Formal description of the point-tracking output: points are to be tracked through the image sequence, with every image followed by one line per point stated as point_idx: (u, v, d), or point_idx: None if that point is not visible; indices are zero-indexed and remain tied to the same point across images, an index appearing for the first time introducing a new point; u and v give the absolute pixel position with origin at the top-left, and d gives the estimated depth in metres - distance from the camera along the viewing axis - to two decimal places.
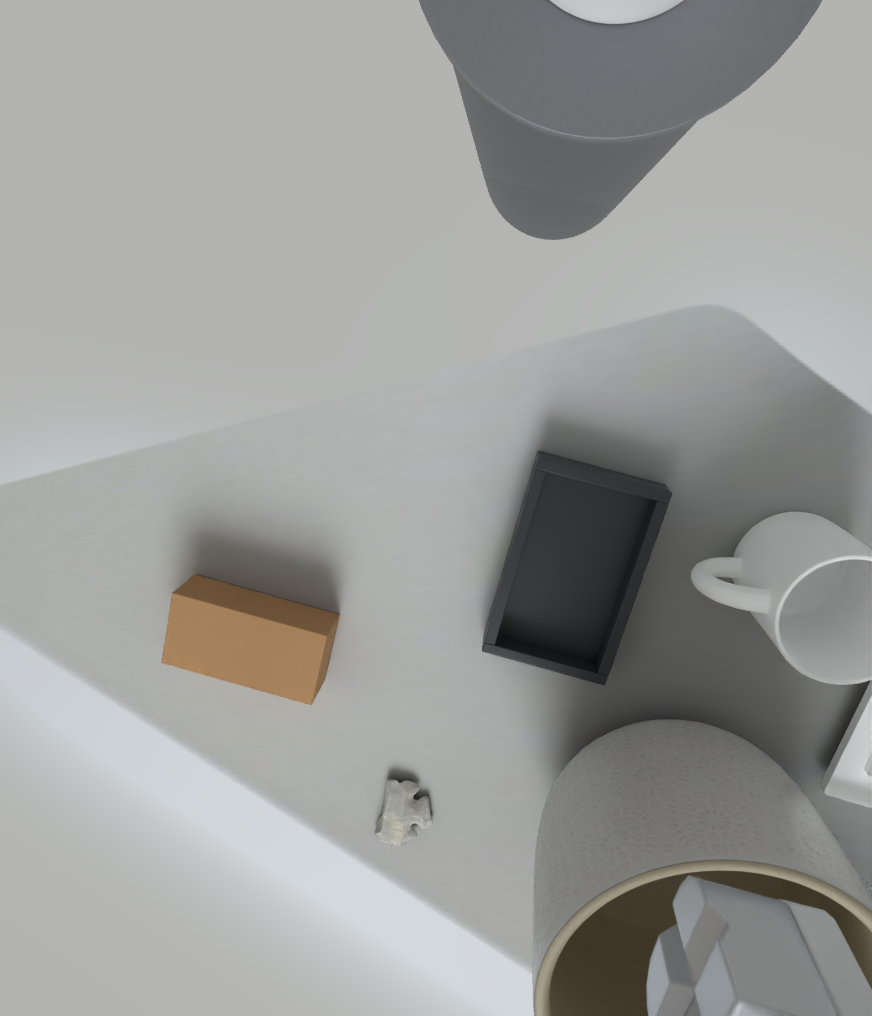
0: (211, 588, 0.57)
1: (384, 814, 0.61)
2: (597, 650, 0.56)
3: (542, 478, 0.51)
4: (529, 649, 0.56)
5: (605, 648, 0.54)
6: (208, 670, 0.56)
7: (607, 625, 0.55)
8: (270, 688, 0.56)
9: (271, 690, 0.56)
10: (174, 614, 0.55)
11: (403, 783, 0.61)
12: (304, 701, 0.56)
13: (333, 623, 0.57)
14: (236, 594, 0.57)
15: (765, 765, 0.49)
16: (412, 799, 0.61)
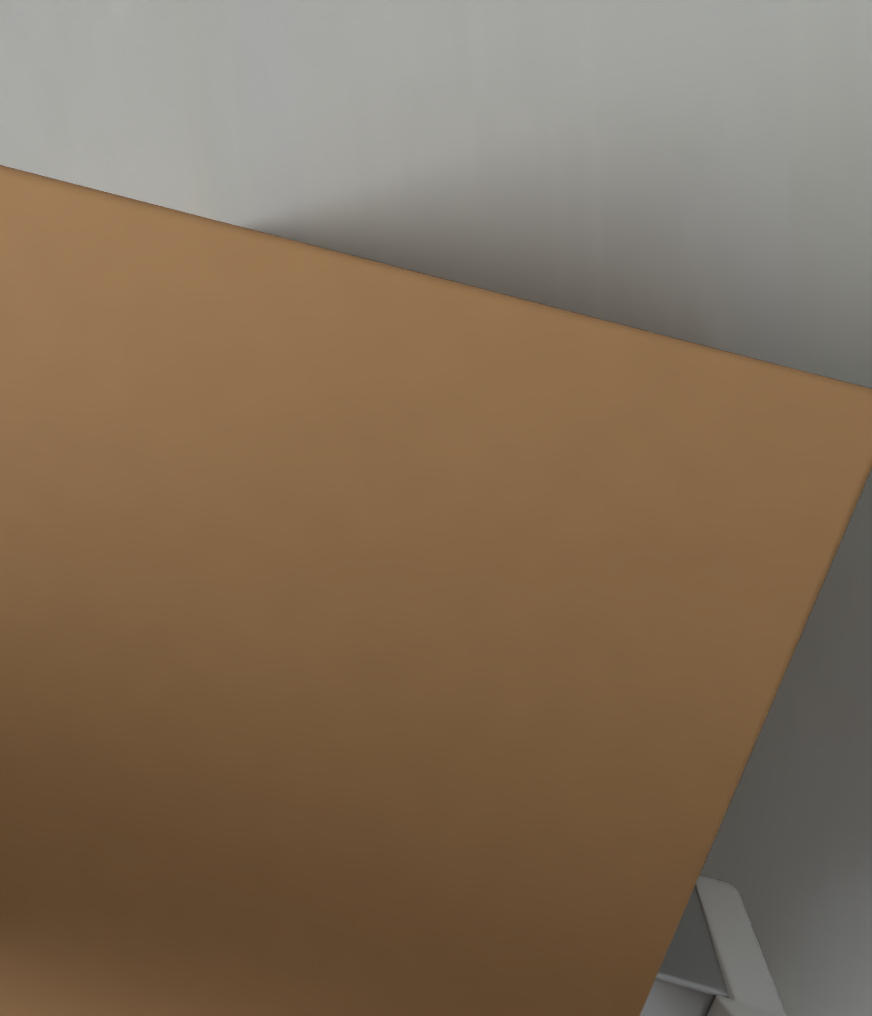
0: None
1: None
2: None
3: None
4: None
5: None
6: (7, 683, 0.06)
7: None
8: None
9: None
10: (614, 394, 0.05)
11: None
12: None
13: None
14: None
15: None
16: None
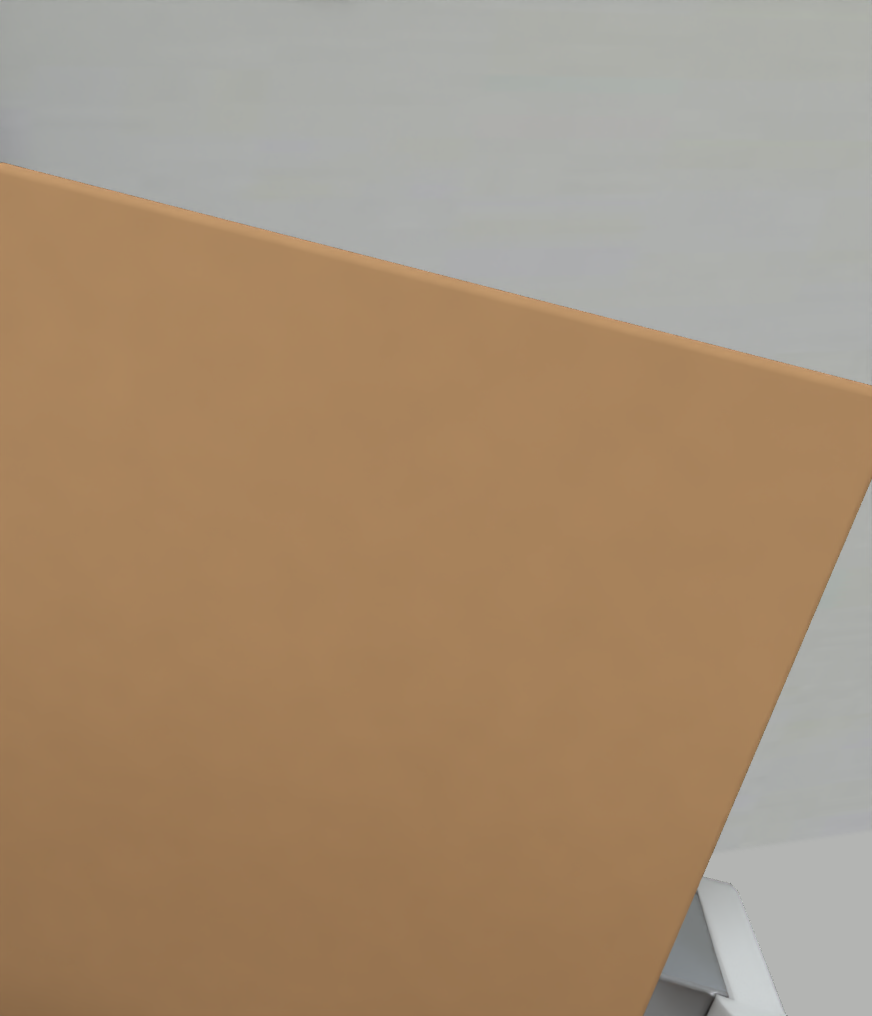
0: None
1: None
2: None
3: None
4: None
5: None
6: (9, 682, 0.06)
7: None
8: None
9: None
10: (620, 394, 0.05)
11: None
12: None
13: None
14: None
15: None
16: None
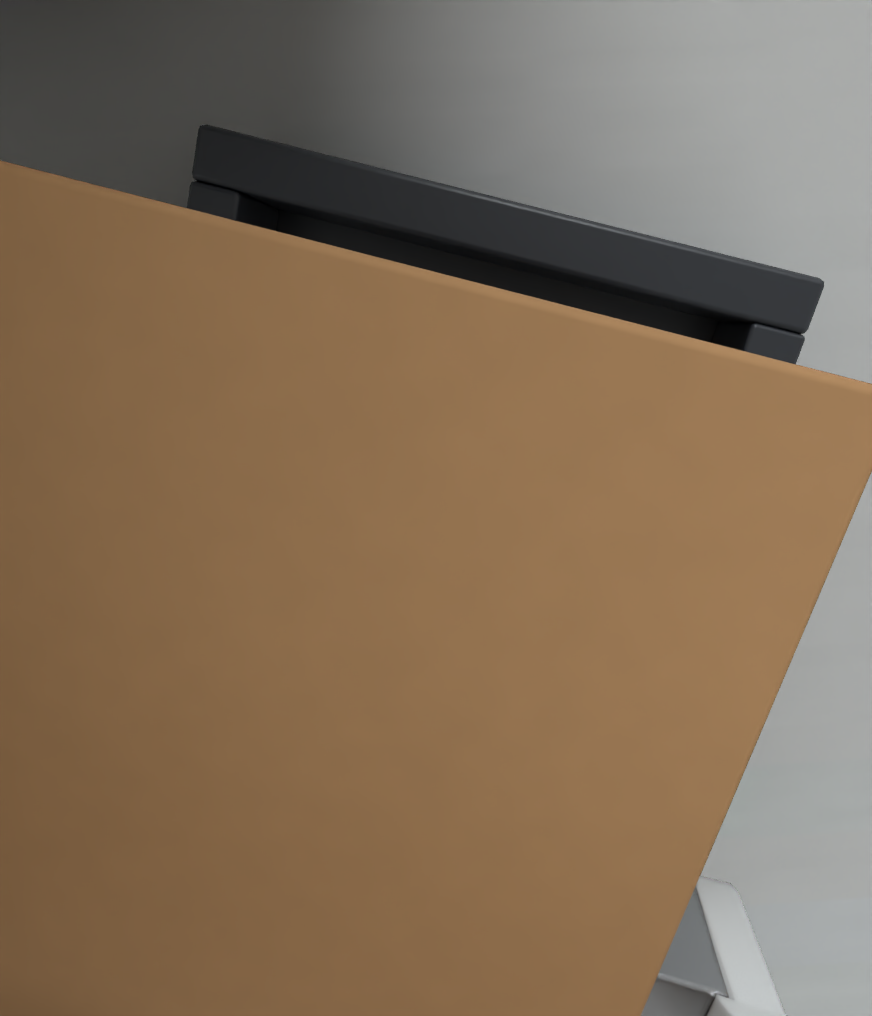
0: None
1: None
2: None
3: None
4: (571, 279, 0.12)
5: None
6: (5, 681, 0.06)
7: None
8: None
9: None
10: (616, 392, 0.05)
11: None
12: None
13: None
14: None
15: None
16: None
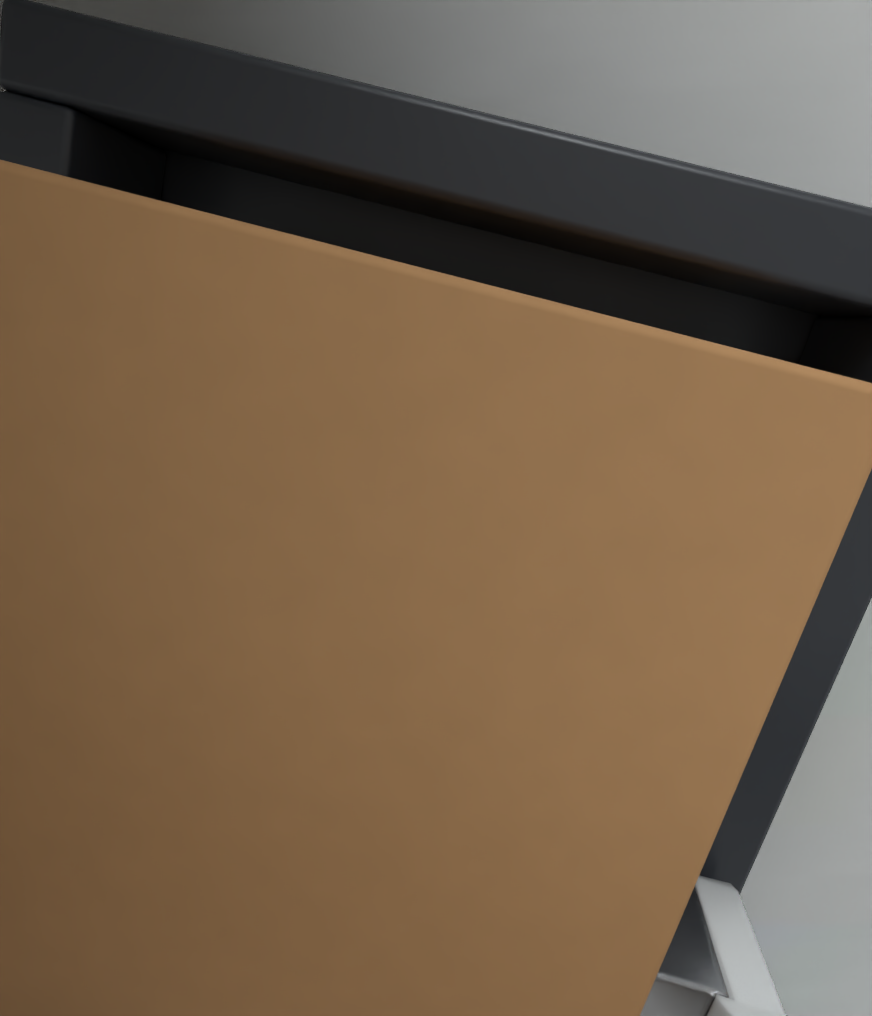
0: None
1: None
2: None
3: None
4: (600, 250, 0.08)
5: None
6: (6, 679, 0.06)
7: None
8: None
9: None
10: (618, 390, 0.05)
11: None
12: None
13: None
14: None
15: None
16: None
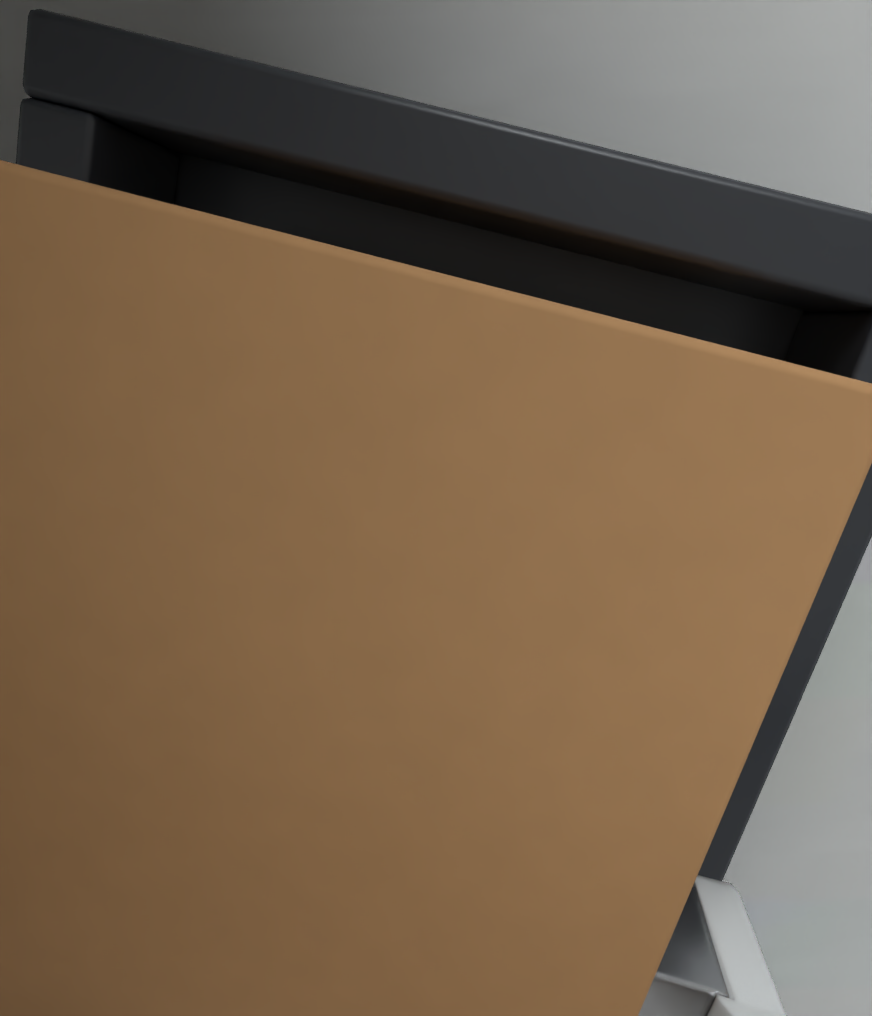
0: None
1: None
2: None
3: None
4: (595, 248, 0.08)
5: None
6: (4, 679, 0.06)
7: None
8: None
9: None
10: (614, 390, 0.05)
11: None
12: None
13: None
14: None
15: None
16: None
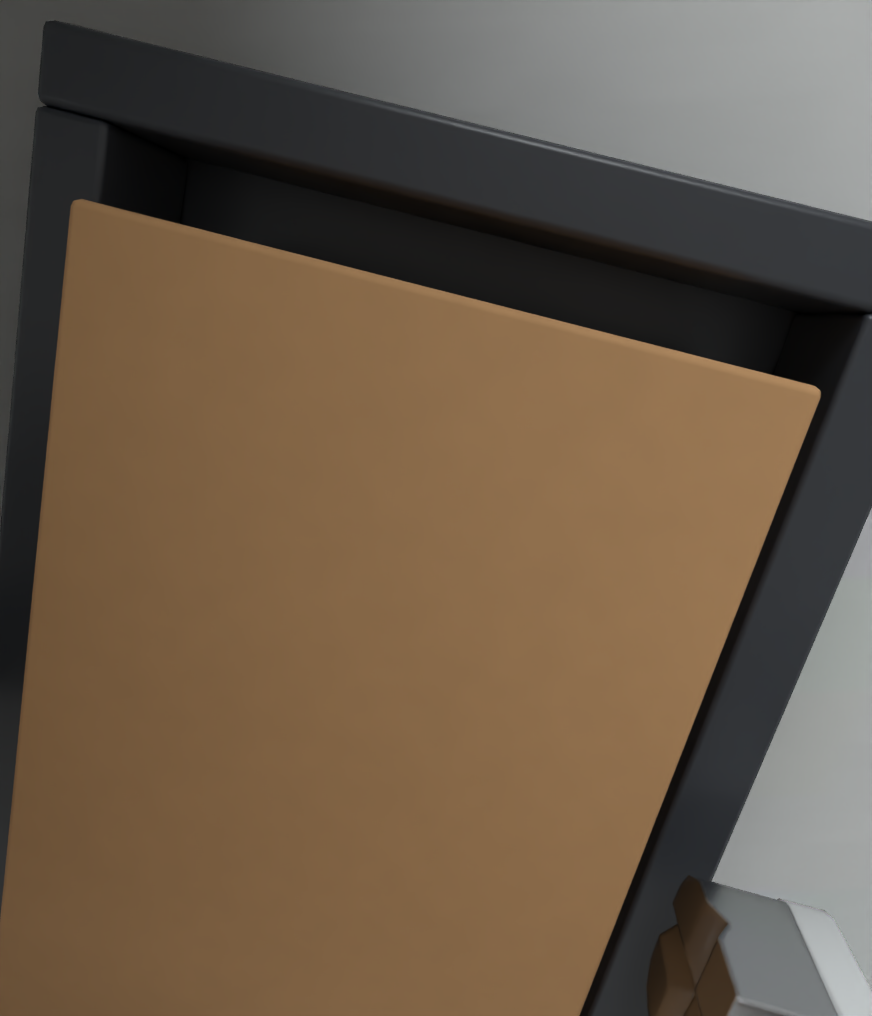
0: None
1: None
2: None
3: None
4: (593, 251, 0.08)
5: None
6: (77, 634, 0.07)
7: None
8: None
9: None
10: (589, 387, 0.06)
11: None
12: None
13: None
14: None
15: None
16: None
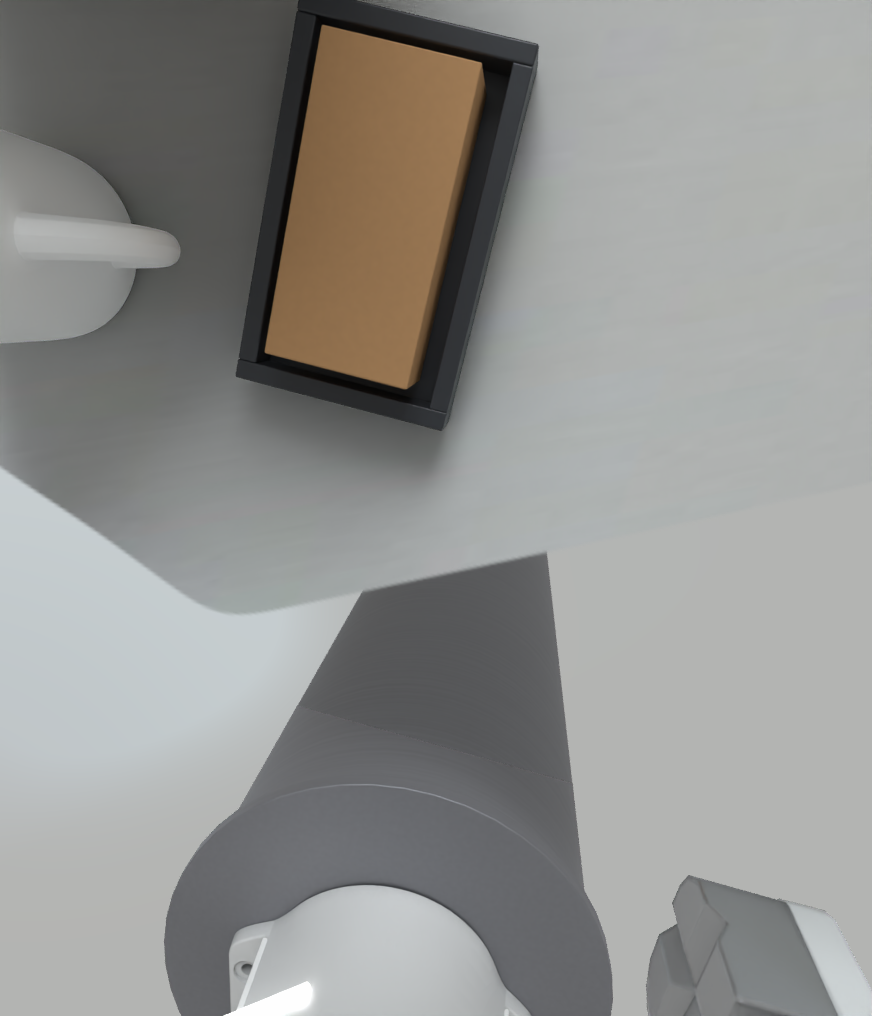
0: (472, 138, 0.29)
1: None
2: None
3: (434, 397, 0.32)
4: (447, 53, 0.29)
5: (307, 72, 0.29)
6: (314, 137, 0.28)
7: None
8: (289, 271, 0.29)
9: (286, 273, 0.29)
10: (433, 64, 0.27)
11: None
12: (270, 339, 0.30)
13: (414, 383, 0.32)
14: (460, 191, 0.30)
15: None
16: None
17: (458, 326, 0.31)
